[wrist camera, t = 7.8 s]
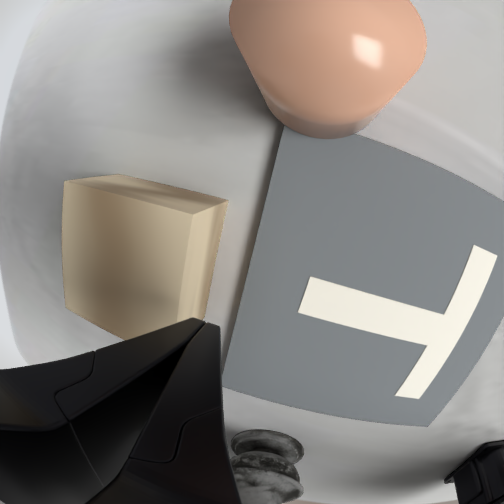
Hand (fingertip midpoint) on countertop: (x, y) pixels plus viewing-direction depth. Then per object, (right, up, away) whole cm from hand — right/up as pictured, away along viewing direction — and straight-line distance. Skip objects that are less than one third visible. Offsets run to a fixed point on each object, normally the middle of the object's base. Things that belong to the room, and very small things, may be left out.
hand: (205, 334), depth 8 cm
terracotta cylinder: (+4, +9, +2) cm, 10 cm away
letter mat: (+8, -1, +4) cm, 9 cm away
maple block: (-3, +3, +6) cm, 7 cm away
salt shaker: (+2, -12, +9) cm, 15 cm away
